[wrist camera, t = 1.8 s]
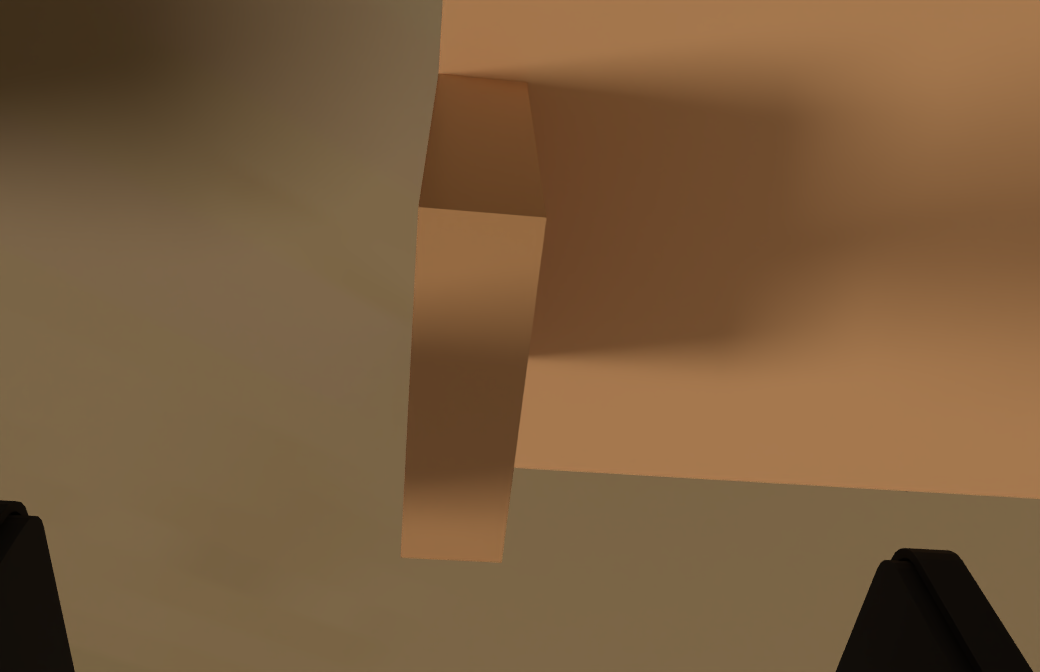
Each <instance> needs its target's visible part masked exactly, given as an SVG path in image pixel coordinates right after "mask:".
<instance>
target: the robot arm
mask: <svg viewBox="0 0 1040 672" xmlns="http://www.w3.org/2000/svg"><path fill="white" fill-rule="evenodd" d="M0 672H75V671H74V666H73V662H72V657H71V652H70V648H69V643H68V638H67V634H66V629H65V624H64V620H63V615H62V610H61V605H60V601H59V596H58V591H57V587H56V582H55V577H54V573H53V568H52V563H51V559H50V554H49V549H48V545H47V540H46V535H45V530H44V526H43V523H42V520H41V519H40V518H39V517H38V516H28V513H27V510H26V507H25V506H24V505H23V504H22V503H21V502H17V501H2V500H0ZM836 672H1033V671H1032V669H1031V668H1030V666H1029V665H1028V663H1027V661H1026V660H1025V658H1024V657H1023V655H1022V654H1021V652H1020V650H1019V649H1018V647H1017V646H1016V644H1015V643H1014V641H1013V639H1012V638H1011V636H1010V635H1009V633H1008V632H1007V630H1006V628H1005V627H1004V625H1003V624H1002V622H1001V621H1000V619H999V617H998V616H997V614H996V613H995V611H994V610H993V608H992V606H991V605H990V603H989V602H988V600H987V599H986V597H985V595H984V594H983V592H982V591H981V589H980V588H979V586H978V584H977V583H976V581H975V580H974V578H973V577H972V575H971V573H970V572H969V570H968V569H967V567H966V566H965V564H964V562H963V561H962V560H961V559H960V557H959V556H958V555H957V554H956V553H954V552H952V551H948V550H929V549H910V548H902V549H899V550H898V551H897V552H895V554H894V555H893V557H892V559H891V560H884V561H883V562H881V563H880V565H879V567H878V568H877V571H876V573H875V576H874V578H873V581H872V583H871V586H870V588H869V591H868V593H867V595H866V598H865V600H864V603H863V605H862V608H861V610H860V613H859V615H858V618H857V620H856V623H855V625H854V628H853V630H852V633H851V635H850V638H849V640H848V643H847V645H846V647H845V650H844V652H843V655H842V657H841V660H840V662H839V665H838V667H837V670H836Z"/></svg>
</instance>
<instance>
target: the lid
mask: <svg viewBox="0 0 1040 672" xmlns="http://www.w3.org/2000/svg"><path fill="white" fill-rule="evenodd" d="M514 468H527V469H544V470H561V471H578V472H595V473H611V474H628V475H645V476H662V477H679V478H696V479H713V480H730V481H747V482H764V483H781V484H798V485H815V486H831V487H848V488H865V489H882V490H899V491H916V492H933V493H950V494H967V495H984V496H1001V497H1018V498H1035V499H1040V0H443V7H442V24H441V41H440V58H439V74H438V81H437V88H436V94H435V101H434V108H433V114H432V121H431V127H430V134H429V141H428V147H427V154H426V161H425V167H424V174H423V180H422V187H421V194H420V200H419V207H418V226H417V246H416V266H415V286H414V306H413V325H412V345H411V365H410V385H409V404H408V424H407V444H406V464H405V484H404V503H403V523H402V543H401V558H419V559H439V560H459V561H479V562H499V563H502V555H503V548H504V540H505V532H506V525H507V517H508V509H509V502H510V494H511V486H512V479H513V471H514Z"/></svg>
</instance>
